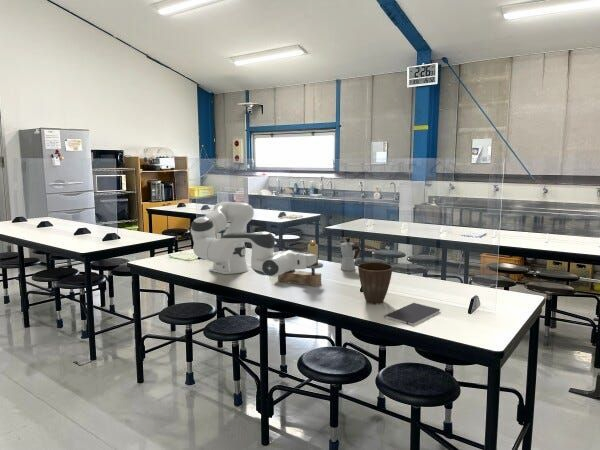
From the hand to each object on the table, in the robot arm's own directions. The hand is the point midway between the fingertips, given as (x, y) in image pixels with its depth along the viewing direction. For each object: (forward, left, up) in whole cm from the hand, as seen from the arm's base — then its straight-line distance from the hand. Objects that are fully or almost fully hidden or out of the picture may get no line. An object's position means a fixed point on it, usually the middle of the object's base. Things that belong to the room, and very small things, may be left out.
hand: (302, 254), depth 218 cm
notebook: (+56, -11, -18) cm, 60 cm away
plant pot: (+37, -2, -18) cm, 41 cm away
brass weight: (0, +11, -7) cm, 13 cm away
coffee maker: (+5, +46, -18) cm, 49 cm away
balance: (-8, +11, -17) cm, 22 cm away
